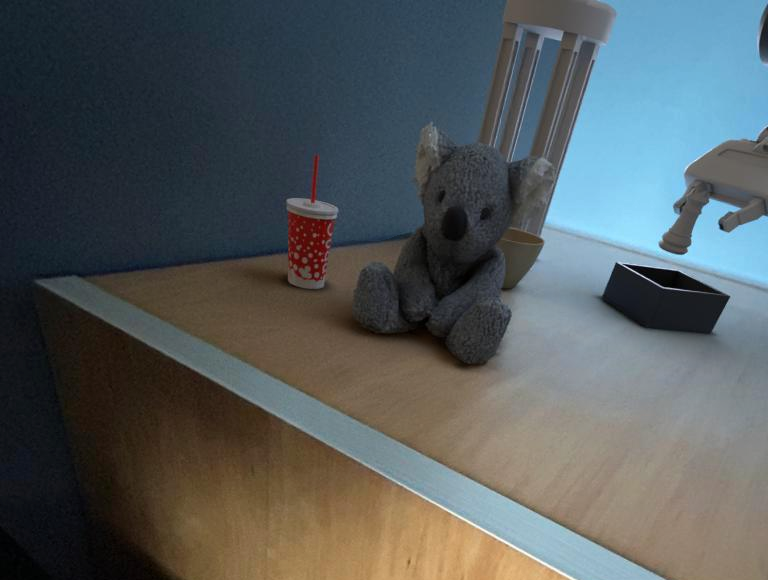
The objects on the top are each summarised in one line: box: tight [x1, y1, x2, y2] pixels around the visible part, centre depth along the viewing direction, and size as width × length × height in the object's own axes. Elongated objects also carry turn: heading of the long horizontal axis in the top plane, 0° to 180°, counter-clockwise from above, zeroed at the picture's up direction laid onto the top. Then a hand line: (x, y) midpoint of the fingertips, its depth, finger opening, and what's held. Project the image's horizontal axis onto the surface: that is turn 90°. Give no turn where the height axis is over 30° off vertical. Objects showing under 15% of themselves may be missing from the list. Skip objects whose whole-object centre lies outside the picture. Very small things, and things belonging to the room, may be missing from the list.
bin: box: [601, 261, 731, 334], centre depth 87 cm, size 12×12×6 cm
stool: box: [476, 0, 618, 237], centre depth 93 cm, size 16×16×35 cm
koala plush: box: [352, 121, 558, 365], centre depth 61 cm, size 17×18×20 cm
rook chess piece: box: [658, 188, 710, 256], centre depth 82 cm, size 4×4×8 cm
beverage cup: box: [285, 154, 339, 290], centre depth 68 cm, size 6×6×14 cm
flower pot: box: [495, 227, 546, 289], centre depth 86 cm, size 10×10×7 cm
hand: (698, 218), depth 79 cm, fingers open, 8 cm apart
